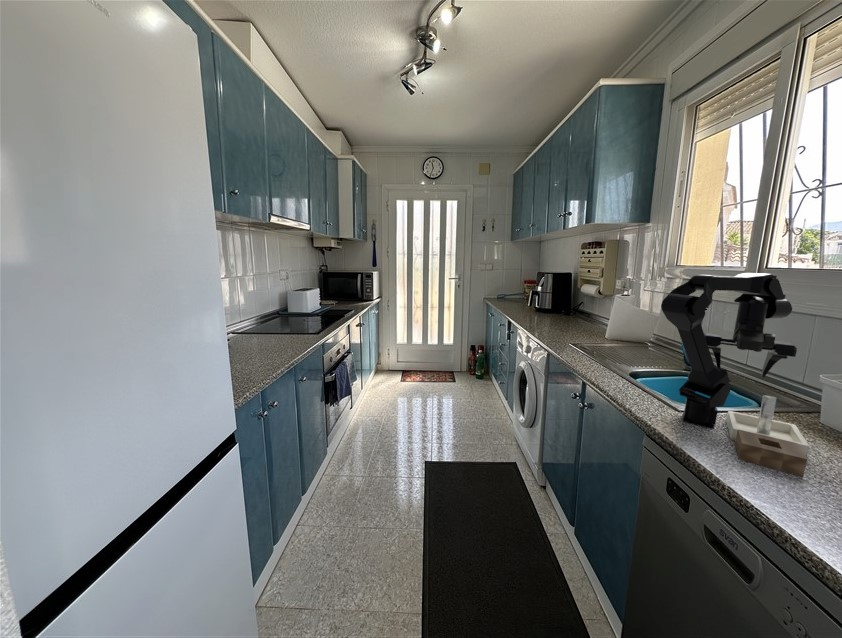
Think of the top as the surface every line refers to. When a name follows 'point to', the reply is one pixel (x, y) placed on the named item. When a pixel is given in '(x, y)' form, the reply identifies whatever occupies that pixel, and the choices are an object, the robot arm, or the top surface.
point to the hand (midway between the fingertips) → (739, 373)
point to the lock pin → (766, 414)
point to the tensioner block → (770, 452)
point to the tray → (777, 430)
